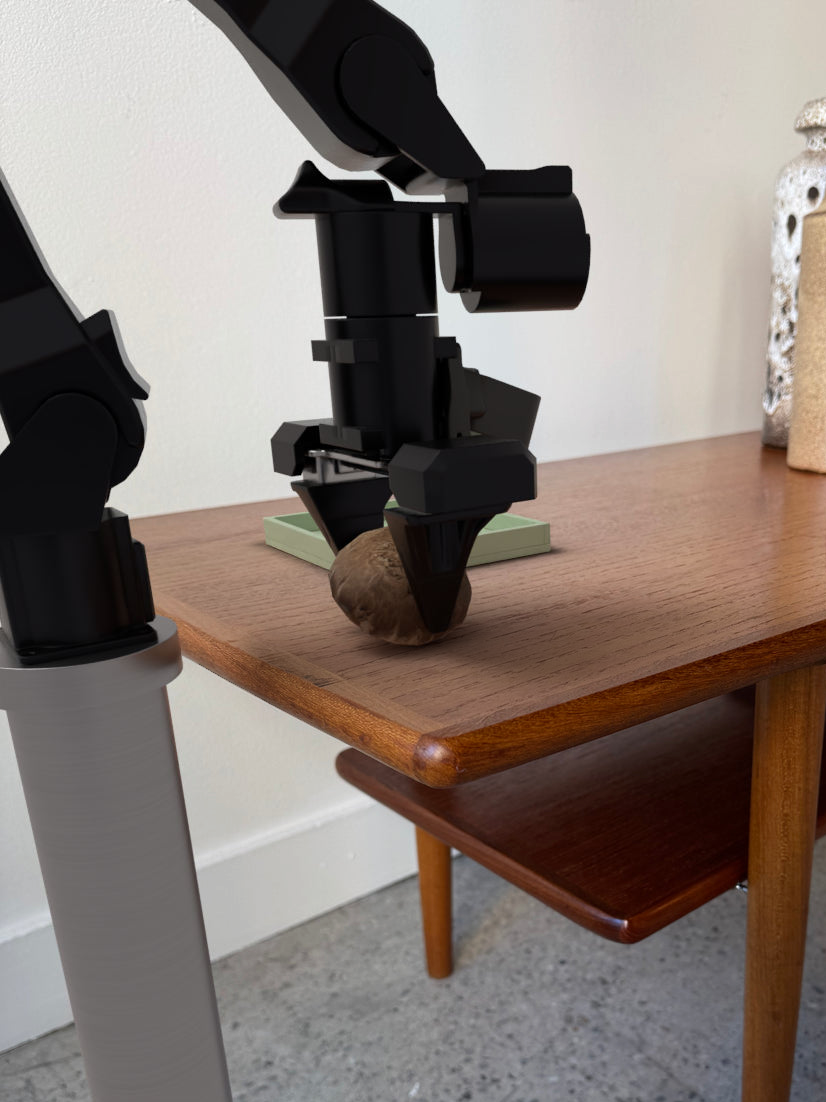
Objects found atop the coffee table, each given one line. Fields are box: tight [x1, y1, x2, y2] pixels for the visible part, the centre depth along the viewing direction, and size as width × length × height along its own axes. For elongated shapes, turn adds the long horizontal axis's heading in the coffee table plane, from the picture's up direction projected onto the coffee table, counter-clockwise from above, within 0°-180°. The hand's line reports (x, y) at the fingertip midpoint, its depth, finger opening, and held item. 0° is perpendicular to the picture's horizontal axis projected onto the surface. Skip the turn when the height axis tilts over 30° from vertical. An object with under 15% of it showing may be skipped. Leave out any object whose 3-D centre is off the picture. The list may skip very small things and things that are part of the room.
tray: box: [262, 498, 552, 571], centre depth 79 cm, size 15×17×2 cm
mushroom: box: [327, 526, 473, 647], centre depth 57 cm, size 8×8×6 cm
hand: (403, 616), depth 58 cm, fingers open, 7 cm apart
